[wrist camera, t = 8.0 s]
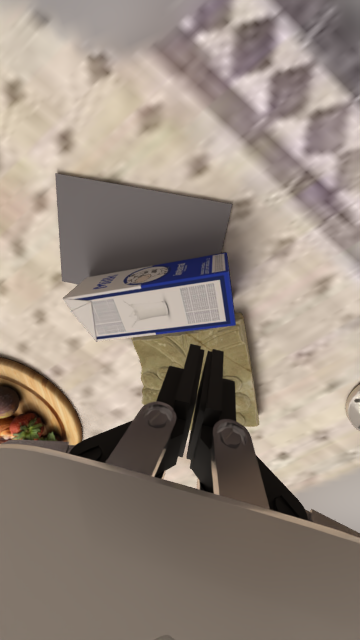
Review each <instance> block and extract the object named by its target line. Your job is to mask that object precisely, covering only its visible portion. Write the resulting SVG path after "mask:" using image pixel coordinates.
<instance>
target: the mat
mask: <svg viewBox="0 0 360 640" xmlns="http://www.w3.org/2000/svg"><path fill="white" fill-rule="evenodd" d="M55 175H56V191H57V206H58V222H59V238H60V254H61V270H62V281H64V282H69V283H74V284H80V283H81V282H82V281H83V280H84V279H86V278H87V277H92V276H98V275H103V274H109V273H114V272H120V271H126V270H131V269H137V268H142V267H148V266H154V265H159V264H165V263H170V262H176V261H182V260H187V259H193V258H198V257H204V256H210V255H215V254H221V252H222V247H223V243H224V239H225V234H226V230H227V225H228V221H229V216H230V212H231V208H232V204H229V203H223V202H217V201H212V200H206V199H200V198H194V197H189V196H183V195H177V194H171V193H166V192H160V191H154V190H148V189H143V188H137V187H131V186H125V185H120V184H114V183H108V182H102V181H97V180H91V179H85V178H79V177H74V176H68V175H62V174H56V173H55Z"/></svg>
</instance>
